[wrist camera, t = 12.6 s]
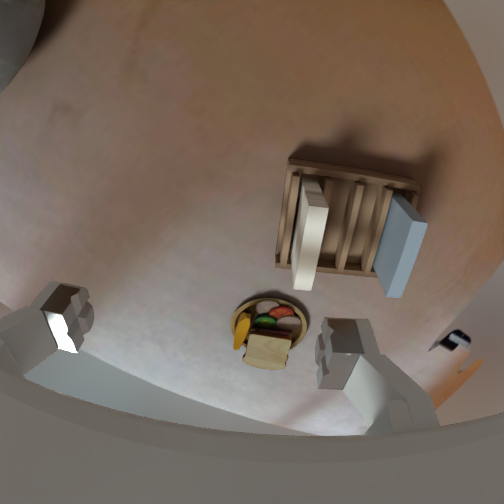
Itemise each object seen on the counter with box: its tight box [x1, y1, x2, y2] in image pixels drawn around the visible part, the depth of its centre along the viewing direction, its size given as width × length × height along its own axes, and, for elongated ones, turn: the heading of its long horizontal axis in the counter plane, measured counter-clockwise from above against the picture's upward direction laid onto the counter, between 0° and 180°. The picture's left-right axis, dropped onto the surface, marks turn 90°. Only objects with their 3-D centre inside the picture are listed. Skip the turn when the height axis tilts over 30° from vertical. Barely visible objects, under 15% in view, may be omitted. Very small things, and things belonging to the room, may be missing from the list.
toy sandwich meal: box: [231, 298, 307, 370], centre depth 50 cm, size 12×14×5 cm
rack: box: [275, 158, 422, 291], centre depth 37 cm, size 14×17×10 cm
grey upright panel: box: [372, 192, 428, 298], centre depth 36 cm, size 10×2×9 cm, turn 175°
